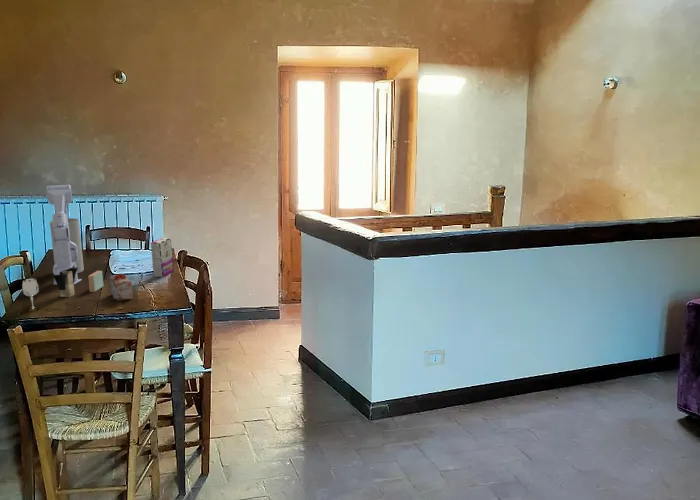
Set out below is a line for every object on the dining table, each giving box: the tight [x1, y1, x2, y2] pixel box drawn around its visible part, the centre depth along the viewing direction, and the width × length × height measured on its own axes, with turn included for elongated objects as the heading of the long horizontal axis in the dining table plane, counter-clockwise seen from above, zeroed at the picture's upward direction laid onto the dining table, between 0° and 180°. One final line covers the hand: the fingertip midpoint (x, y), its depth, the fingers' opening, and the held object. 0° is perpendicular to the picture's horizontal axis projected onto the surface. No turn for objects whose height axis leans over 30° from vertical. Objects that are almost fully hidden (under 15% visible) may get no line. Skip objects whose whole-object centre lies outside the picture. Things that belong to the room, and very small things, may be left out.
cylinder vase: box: [49, 217, 85, 274], centre depth 313 cm, size 12×12×25 cm
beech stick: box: [59, 271, 75, 298], centre depth 276 cm, size 4×4×10 cm
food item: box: [108, 273, 134, 302], centre depth 272 cm, size 14×8×10 cm, turn 34°
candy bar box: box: [150, 237, 175, 278], centre depth 308 cm, size 11×5×16 cm, turn 168°
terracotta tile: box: [87, 270, 104, 293], centre depth 285 cm, size 2×9×7 cm, turn 176°
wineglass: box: [21, 278, 40, 309], centre depth 256 cm, size 6×6×12 cm
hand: (66, 287), depth 276 cm, fingers open, 7 cm apart
